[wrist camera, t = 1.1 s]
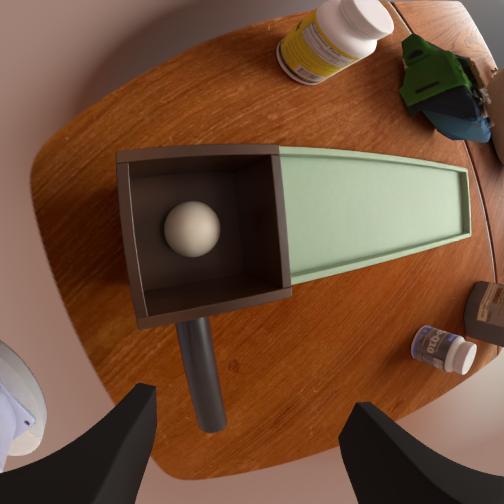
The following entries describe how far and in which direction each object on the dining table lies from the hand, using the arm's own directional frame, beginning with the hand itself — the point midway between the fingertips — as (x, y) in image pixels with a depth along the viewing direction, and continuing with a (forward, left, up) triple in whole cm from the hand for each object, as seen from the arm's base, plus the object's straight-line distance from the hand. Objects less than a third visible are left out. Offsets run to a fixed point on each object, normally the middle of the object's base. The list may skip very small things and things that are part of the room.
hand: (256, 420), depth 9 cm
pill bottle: (+20, -23, -12) cm, 33 cm away
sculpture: (+38, +5, -12) cm, 40 cm away
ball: (+3, +6, -7) cm, 9 cm away
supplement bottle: (+20, +13, -12) cm, 27 cm away
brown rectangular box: (+2, +2, -9) cm, 9 cm away
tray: (+24, -5, -12) cm, 27 cm away
